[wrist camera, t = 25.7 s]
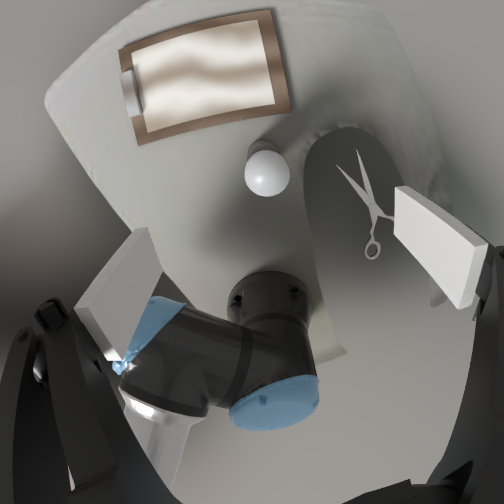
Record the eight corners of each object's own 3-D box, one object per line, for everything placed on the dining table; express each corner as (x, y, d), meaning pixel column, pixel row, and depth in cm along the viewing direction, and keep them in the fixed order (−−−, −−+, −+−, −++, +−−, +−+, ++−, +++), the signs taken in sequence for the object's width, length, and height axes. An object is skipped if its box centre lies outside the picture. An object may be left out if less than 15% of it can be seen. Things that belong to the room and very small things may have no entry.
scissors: (372, 268, 46) (316, 175, 38) (370, 266, 47) (315, 174, 39) (418, 236, 43) (373, 138, 35) (416, 234, 44) (371, 137, 36)
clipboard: (290, 112, 34) (292, 112, 32) (140, 145, 36) (135, 147, 34) (269, 11, 27) (270, 6, 25) (121, 51, 29) (114, 48, 27)
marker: (280, 164, 38) (293, 191, 26) (251, 170, 38) (250, 201, 26) (273, 136, 36) (284, 148, 24) (244, 142, 36) (239, 159, 24)
